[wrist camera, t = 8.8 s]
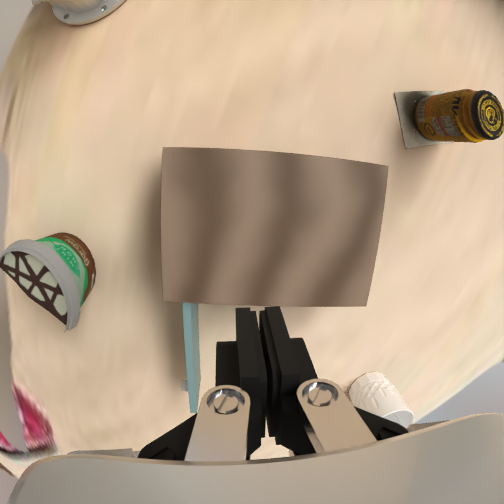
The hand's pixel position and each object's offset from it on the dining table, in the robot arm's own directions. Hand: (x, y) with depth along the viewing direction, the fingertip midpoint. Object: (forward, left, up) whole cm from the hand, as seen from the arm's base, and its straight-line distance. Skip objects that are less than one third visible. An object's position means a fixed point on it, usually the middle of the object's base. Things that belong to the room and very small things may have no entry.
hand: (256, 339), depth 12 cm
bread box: (+3, 0, -25) cm, 25 cm away
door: (-6, -15, -24) cm, 29 cm away
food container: (-21, -5, -26) cm, 34 cm away
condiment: (+23, +15, -26) cm, 37 cm away
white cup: (+22, -26, -26) cm, 43 cm away
